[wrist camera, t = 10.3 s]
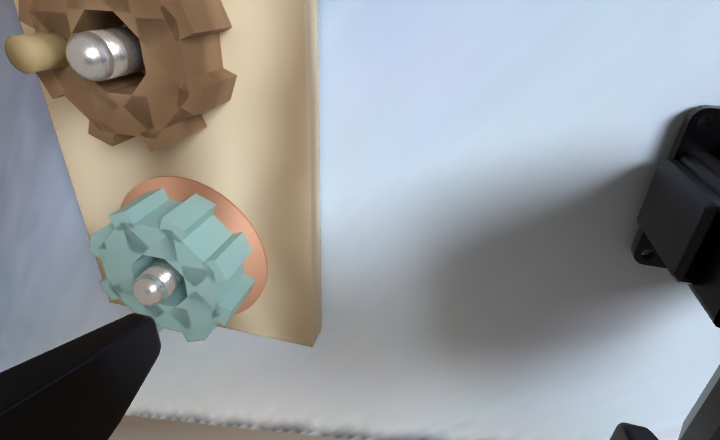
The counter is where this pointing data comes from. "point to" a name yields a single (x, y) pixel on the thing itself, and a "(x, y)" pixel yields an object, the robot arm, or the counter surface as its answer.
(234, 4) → the gear board
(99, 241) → the loose gear
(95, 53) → the steel pegs
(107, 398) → the robot arm
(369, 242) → the counter surface
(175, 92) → the gear
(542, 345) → the counter surface
